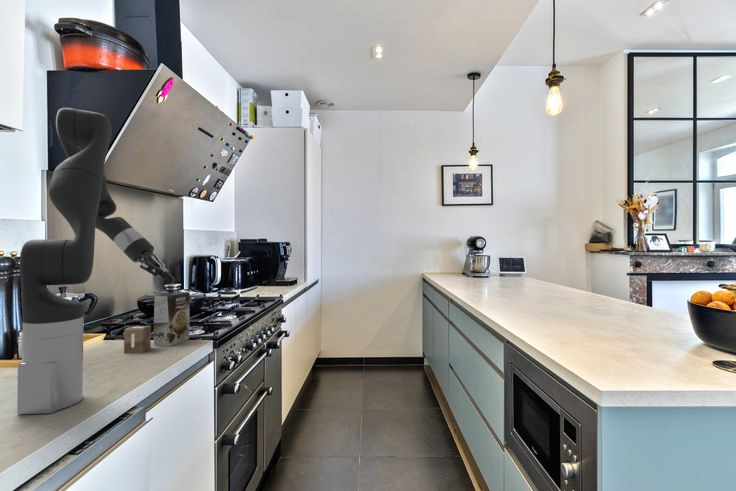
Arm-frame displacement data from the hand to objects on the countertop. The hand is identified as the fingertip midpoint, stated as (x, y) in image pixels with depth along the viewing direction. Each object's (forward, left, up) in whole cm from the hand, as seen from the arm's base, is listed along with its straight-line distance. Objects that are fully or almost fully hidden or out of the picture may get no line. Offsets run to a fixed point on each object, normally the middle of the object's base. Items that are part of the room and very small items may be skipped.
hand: (172, 282), depth 116 cm
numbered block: (-9, +6, -20) cm, 23 cm away
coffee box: (0, 0, -20) cm, 20 cm away
